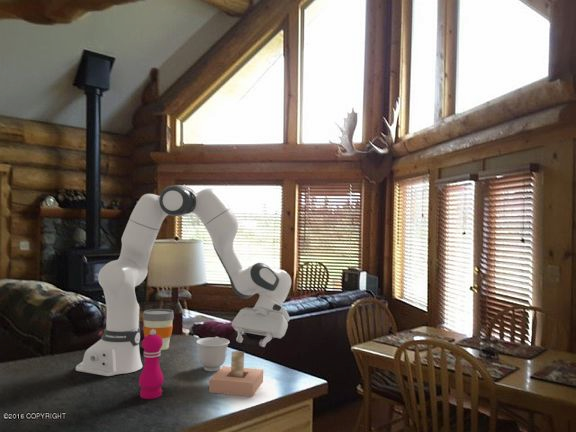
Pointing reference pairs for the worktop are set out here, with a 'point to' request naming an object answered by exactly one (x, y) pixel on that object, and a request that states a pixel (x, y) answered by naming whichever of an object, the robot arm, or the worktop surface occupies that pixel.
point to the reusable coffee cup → (159, 324)
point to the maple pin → (237, 364)
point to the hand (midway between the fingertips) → (249, 343)
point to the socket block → (236, 382)
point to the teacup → (212, 352)
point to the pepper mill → (151, 367)
